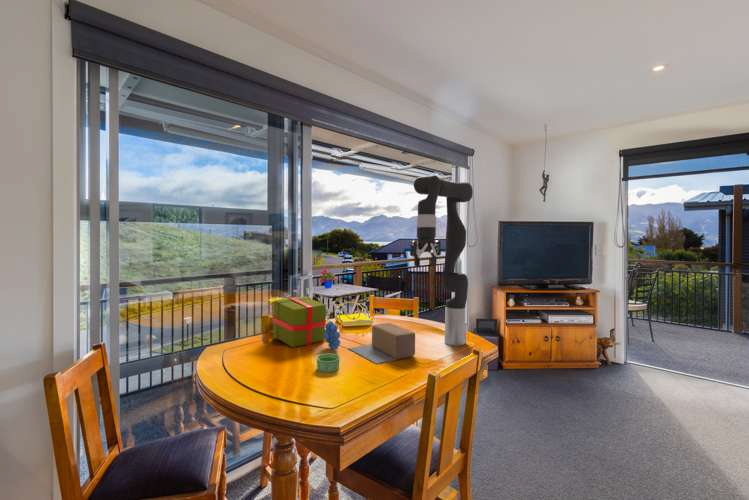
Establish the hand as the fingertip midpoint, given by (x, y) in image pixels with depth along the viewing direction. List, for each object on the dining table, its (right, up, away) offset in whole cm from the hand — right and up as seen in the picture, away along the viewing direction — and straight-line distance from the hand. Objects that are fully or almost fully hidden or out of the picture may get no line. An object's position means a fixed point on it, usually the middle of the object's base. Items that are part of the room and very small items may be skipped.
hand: (425, 266), depth 148 cm
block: (-7, -33, +2) cm, 33 cm away
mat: (-18, -37, +10) cm, 43 cm away
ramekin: (-38, -38, -9) cm, 55 cm away
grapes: (-40, -37, +14) cm, 56 cm away
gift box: (-58, -36, +29) cm, 74 cm away
